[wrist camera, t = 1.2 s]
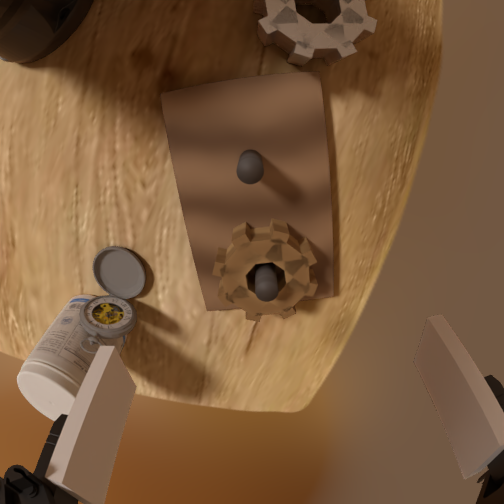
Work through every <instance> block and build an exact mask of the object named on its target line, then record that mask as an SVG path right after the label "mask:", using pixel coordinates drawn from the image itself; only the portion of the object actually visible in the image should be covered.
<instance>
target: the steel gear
mask: <svg viewBox="0 0 504 504" xmlns="http://www.w3.org/2000/svg"><path fill="white" fill-rule="evenodd" d="M365 1H366V0H254V6H253V13H257V14H261V15H263V18H262V19H260V20H258V30H257V36H258V37H259V39H260V40H261V42H262V43H263V45H264V46H265V47H266V46H268V45H270V44H272V43H274V44H276V45H277V46H279V47H280V48H281V49H283V50H284V51H286V52H287V53H288V54H289V57H288V60H287V62H288V63H291V64H295V65H298V66H301V67H302V66H303V65H304V64H305V63H307V62H308V61H309V60H310V59H311V58H323V59H324V60H325V62H326V64H327V65H330V64H332V63H335V62H337V61H339V60H342V59H343V58H345V57H347V56H349V55H351V54H354V53H356V52H357V51H356V49H355V47H354V45H353V44H352V43H354V44H356V43H357V42H359V41H361V40H363V39H365V38H366V37H368V36H370V35H372V34H374V31H375V28H376V24H377V20H376V19H374V18H372V17H369V16H368V14H367V10H366V5H365ZM302 4H312V5H314V6H315V7H317V8H318V9H319V10H321V11H322V12H323V13H325V17H326V22H327V24H312V23H311V22H309V21H308V20H307V19H305V18H304V17H302V16H301V15H299V14H298V13H297V12H296V7H295V6H296V5H302Z"/></svg>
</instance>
